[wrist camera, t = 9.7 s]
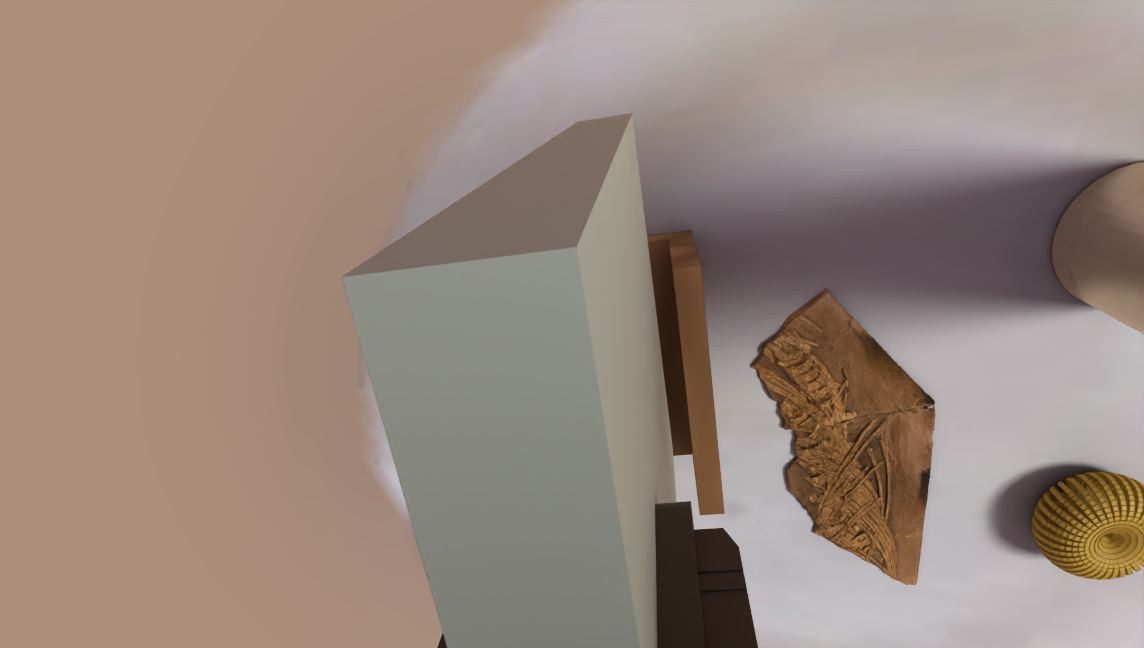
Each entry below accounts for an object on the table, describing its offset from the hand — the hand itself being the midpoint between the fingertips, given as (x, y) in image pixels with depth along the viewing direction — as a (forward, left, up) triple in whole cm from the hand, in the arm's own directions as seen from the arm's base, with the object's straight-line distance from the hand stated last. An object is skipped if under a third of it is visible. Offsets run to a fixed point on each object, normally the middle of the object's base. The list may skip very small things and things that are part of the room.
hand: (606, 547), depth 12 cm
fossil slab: (-14, +20, -34) cm, 41 cm away
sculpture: (-29, +26, -33) cm, 51 cm away
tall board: (0, 0, -15) cm, 15 cm away
